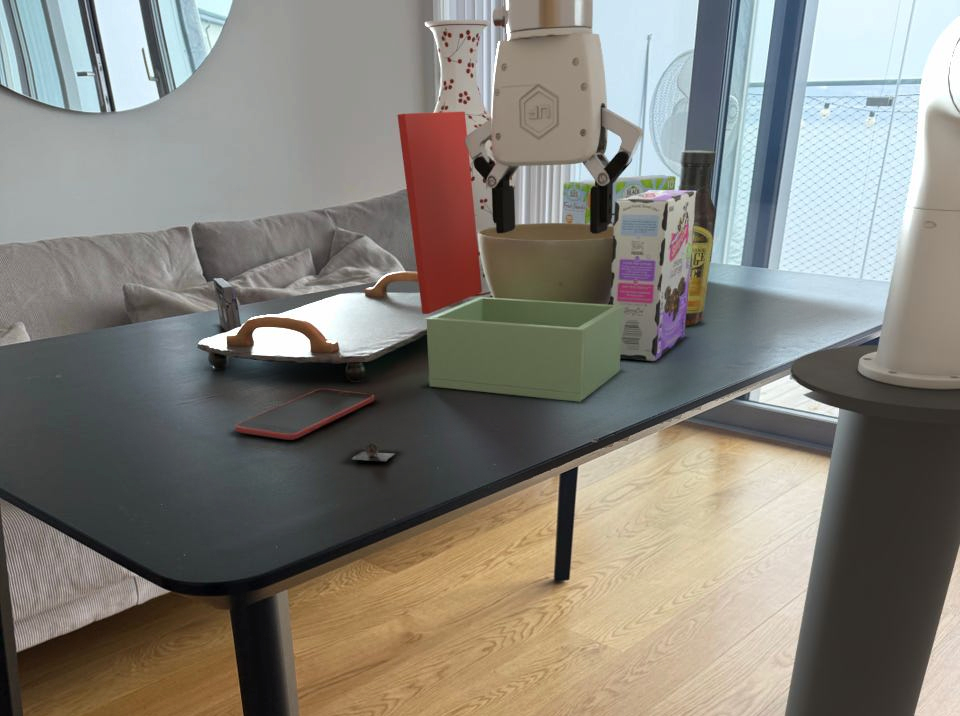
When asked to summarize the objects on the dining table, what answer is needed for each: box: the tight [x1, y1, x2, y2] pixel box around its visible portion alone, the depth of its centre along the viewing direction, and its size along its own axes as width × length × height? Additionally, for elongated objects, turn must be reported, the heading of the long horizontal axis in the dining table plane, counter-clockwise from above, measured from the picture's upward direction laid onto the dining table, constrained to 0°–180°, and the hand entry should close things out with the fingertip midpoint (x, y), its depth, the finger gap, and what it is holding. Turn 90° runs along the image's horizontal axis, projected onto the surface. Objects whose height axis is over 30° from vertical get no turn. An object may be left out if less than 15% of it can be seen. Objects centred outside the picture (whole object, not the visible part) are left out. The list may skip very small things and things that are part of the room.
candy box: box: [610, 189, 696, 362], centre depth 103 cm, size 14×6×16 cm, turn 155°
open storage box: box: [426, 297, 623, 403], centre depth 94 cm, size 17×13×7 cm
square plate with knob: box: [351, 442, 395, 462], centre depth 75 cm, size 3×3×1 cm
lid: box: [396, 112, 482, 314], centre depth 91 cm, size 17×13×1 cm
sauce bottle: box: [677, 150, 717, 327], centre depth 114 cm, size 6×6×20 cm
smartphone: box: [234, 388, 375, 441], centre depth 86 cm, size 7×1×14 cm
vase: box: [424, 19, 518, 299], centre depth 131 cm, size 16×16×35 cm
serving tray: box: [196, 270, 473, 384], centre depth 111 cm, size 39×23×6 cm, turn 157°
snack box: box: [561, 174, 677, 226], centre depth 144 cm, size 21×6×15 cm, turn 132°
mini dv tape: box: [212, 277, 242, 332], centre depth 120 cm, size 8×2×6 cm, turn 23°
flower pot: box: [478, 222, 614, 305], centre depth 111 cm, size 18×18×12 cm
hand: (551, 231), depth 88 cm, fingers open, 9 cm apart
